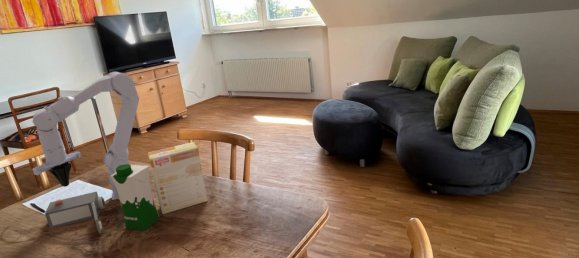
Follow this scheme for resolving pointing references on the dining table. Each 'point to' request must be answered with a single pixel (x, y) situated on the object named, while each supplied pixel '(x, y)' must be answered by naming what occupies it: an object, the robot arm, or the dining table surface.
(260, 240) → the dining table surface
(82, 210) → the box
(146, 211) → the milk carton
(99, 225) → the side door
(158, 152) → the coffeecake box
